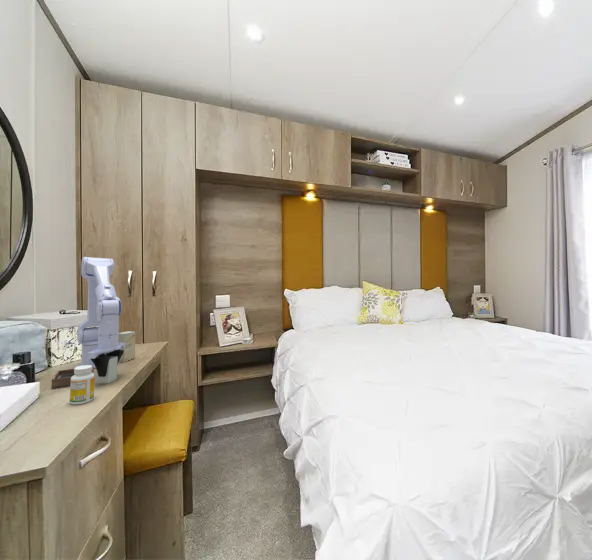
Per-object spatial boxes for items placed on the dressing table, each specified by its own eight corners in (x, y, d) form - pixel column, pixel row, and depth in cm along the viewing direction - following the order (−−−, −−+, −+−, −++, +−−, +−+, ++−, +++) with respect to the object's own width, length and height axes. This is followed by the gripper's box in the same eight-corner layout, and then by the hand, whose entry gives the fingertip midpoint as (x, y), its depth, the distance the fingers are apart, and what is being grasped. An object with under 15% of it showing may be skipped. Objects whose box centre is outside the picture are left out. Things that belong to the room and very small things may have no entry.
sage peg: (105, 378, 92) (106, 356, 92) (117, 379, 92) (117, 356, 92) (96, 383, 88) (97, 359, 88) (108, 383, 88) (109, 359, 88)
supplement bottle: (76, 406, 71) (77, 371, 71) (65, 402, 73) (66, 368, 74) (98, 398, 76) (99, 365, 76) (87, 395, 78) (88, 363, 79)
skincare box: (123, 362, 111) (124, 333, 111) (114, 361, 112) (115, 333, 112) (135, 358, 117) (136, 331, 117) (127, 357, 118) (127, 330, 118)
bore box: (57, 379, 91) (57, 370, 91) (93, 374, 96) (93, 366, 96) (51, 389, 82) (51, 379, 83) (91, 382, 88) (91, 373, 88)
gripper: (103, 338, 83) (102, 382, 83) (133, 330, 97) (132, 367, 97) (81, 338, 83) (80, 381, 83) (115, 330, 98) (114, 367, 97)
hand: (107, 374), depth 90 cm, fingers closed on sage peg, 4 cm apart
